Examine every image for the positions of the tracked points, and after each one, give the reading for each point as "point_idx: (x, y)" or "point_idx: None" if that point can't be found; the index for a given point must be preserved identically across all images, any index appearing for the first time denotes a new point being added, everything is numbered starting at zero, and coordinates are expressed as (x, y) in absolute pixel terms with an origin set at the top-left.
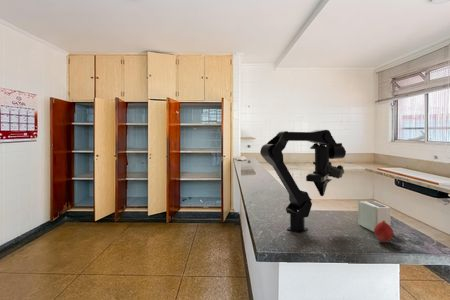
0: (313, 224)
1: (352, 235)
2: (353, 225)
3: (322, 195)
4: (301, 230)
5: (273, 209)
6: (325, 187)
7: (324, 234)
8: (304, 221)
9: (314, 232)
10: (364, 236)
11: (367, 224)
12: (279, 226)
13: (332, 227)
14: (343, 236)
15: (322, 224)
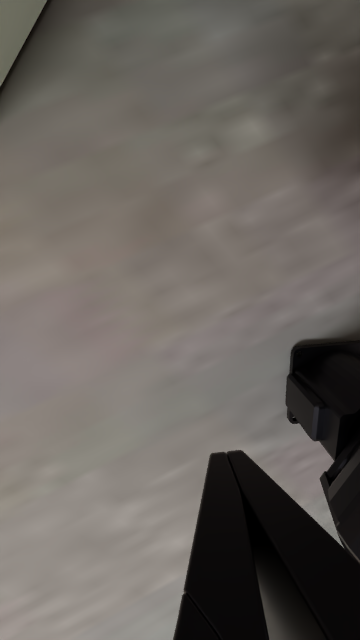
0: (189, 367)
1: (235, 90)
2: (19, 167)
3: (245, 461)
4: (355, 353)
5: (95, 618)
6: (238, 617)
7: (318, 242)
8: (354, 373)
9: (317, 299)
10: (203, 4)
11: (12, 7)
12: (327, 460)
13: (166, 262)
14: (289, 134)
15: (153, 332)
